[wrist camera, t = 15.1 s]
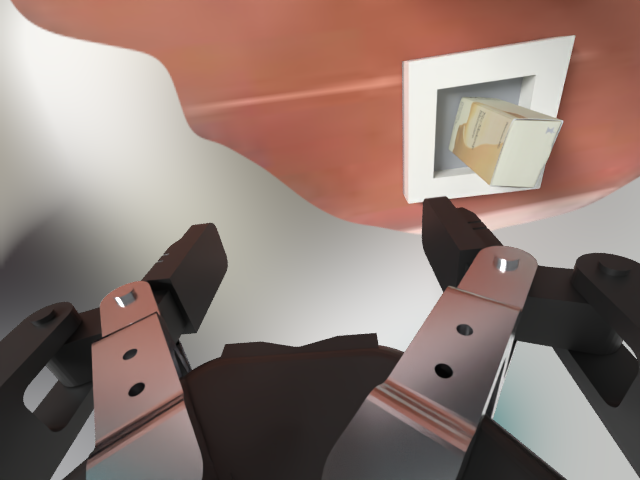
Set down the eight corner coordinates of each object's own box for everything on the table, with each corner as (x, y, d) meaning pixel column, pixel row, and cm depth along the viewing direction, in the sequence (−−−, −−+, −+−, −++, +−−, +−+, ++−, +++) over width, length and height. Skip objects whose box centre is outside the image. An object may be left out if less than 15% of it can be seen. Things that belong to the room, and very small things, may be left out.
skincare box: (460, 96, 36) (513, 113, 25) (498, 97, 36) (567, 115, 25) (446, 152, 39) (488, 188, 28) (481, 153, 39) (536, 190, 28)
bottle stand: (402, 61, 35) (408, 61, 32) (553, 36, 33) (575, 35, 30) (403, 193, 43) (408, 203, 40) (524, 178, 41) (539, 188, 38)
